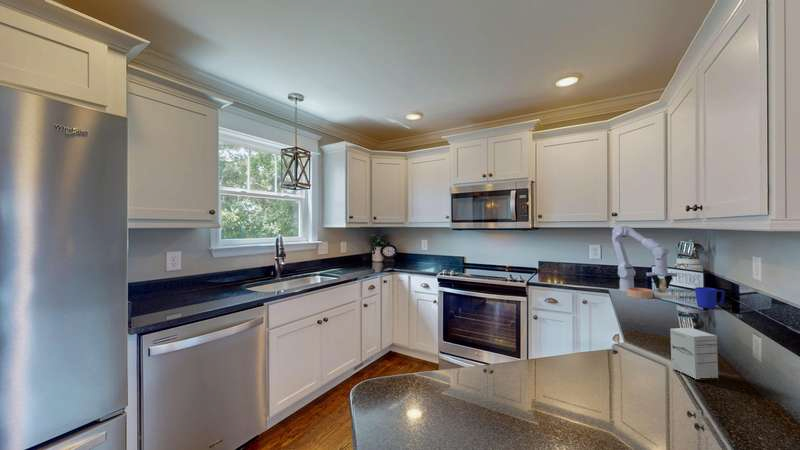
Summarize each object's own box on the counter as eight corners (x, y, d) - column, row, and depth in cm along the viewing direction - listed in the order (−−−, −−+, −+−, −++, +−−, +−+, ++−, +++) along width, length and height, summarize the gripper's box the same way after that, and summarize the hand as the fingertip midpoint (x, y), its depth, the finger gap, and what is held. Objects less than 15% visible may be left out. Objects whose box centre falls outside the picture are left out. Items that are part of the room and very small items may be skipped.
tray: (646, 294, 195) (646, 290, 195) (670, 295, 190) (670, 291, 190) (654, 298, 183) (654, 294, 183) (679, 299, 179) (679, 295, 179)
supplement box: (670, 369, 93) (668, 328, 93) (692, 368, 93) (690, 326, 94) (695, 381, 85) (694, 336, 86) (719, 380, 86) (717, 334, 86)
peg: (657, 291, 189) (656, 278, 189) (665, 291, 188) (664, 278, 188) (659, 292, 186) (658, 279, 186) (667, 292, 184) (667, 279, 184)
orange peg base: (624, 294, 196) (624, 287, 196) (648, 295, 191) (648, 288, 191) (631, 298, 184) (630, 291, 184) (657, 299, 179) (656, 292, 180)
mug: (731, 310, 155) (730, 290, 155) (703, 309, 157) (702, 289, 157) (718, 306, 163) (717, 287, 163) (691, 305, 165) (690, 287, 166)
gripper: (649, 266, 186) (650, 288, 186) (679, 266, 181) (680, 289, 180) (644, 265, 193) (645, 286, 192) (673, 265, 187) (674, 287, 187)
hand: (662, 288), depth 187 cm, fingers closed on peg, 4 cm apart
